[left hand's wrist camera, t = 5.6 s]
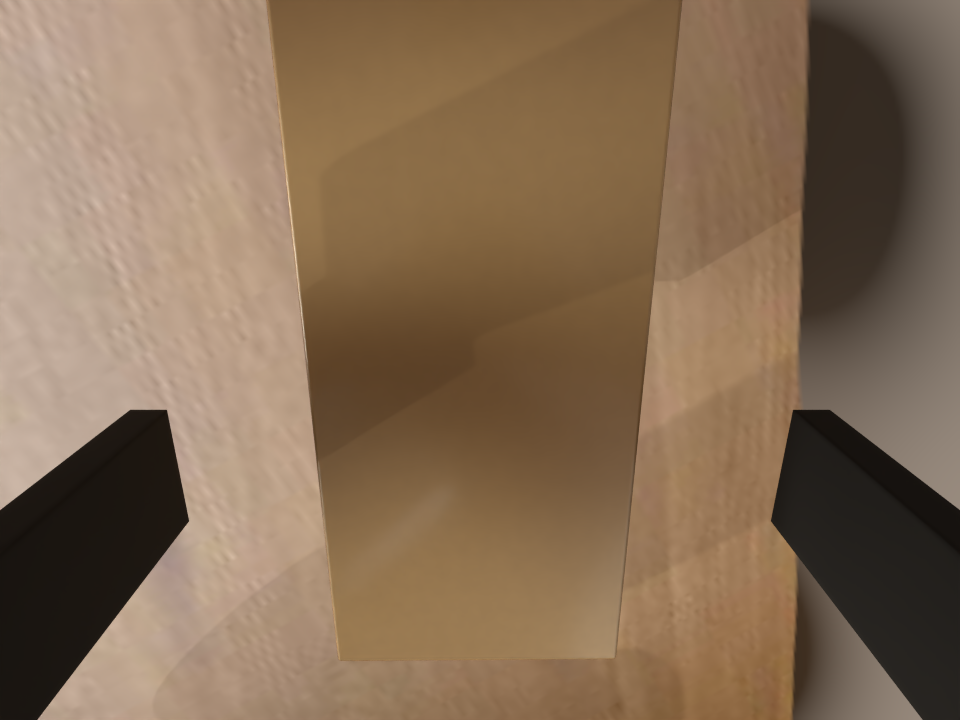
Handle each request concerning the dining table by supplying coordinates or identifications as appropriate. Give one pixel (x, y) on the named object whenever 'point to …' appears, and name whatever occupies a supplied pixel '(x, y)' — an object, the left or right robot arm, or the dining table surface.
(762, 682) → the dining table surface
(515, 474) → the box
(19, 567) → the left robot arm
